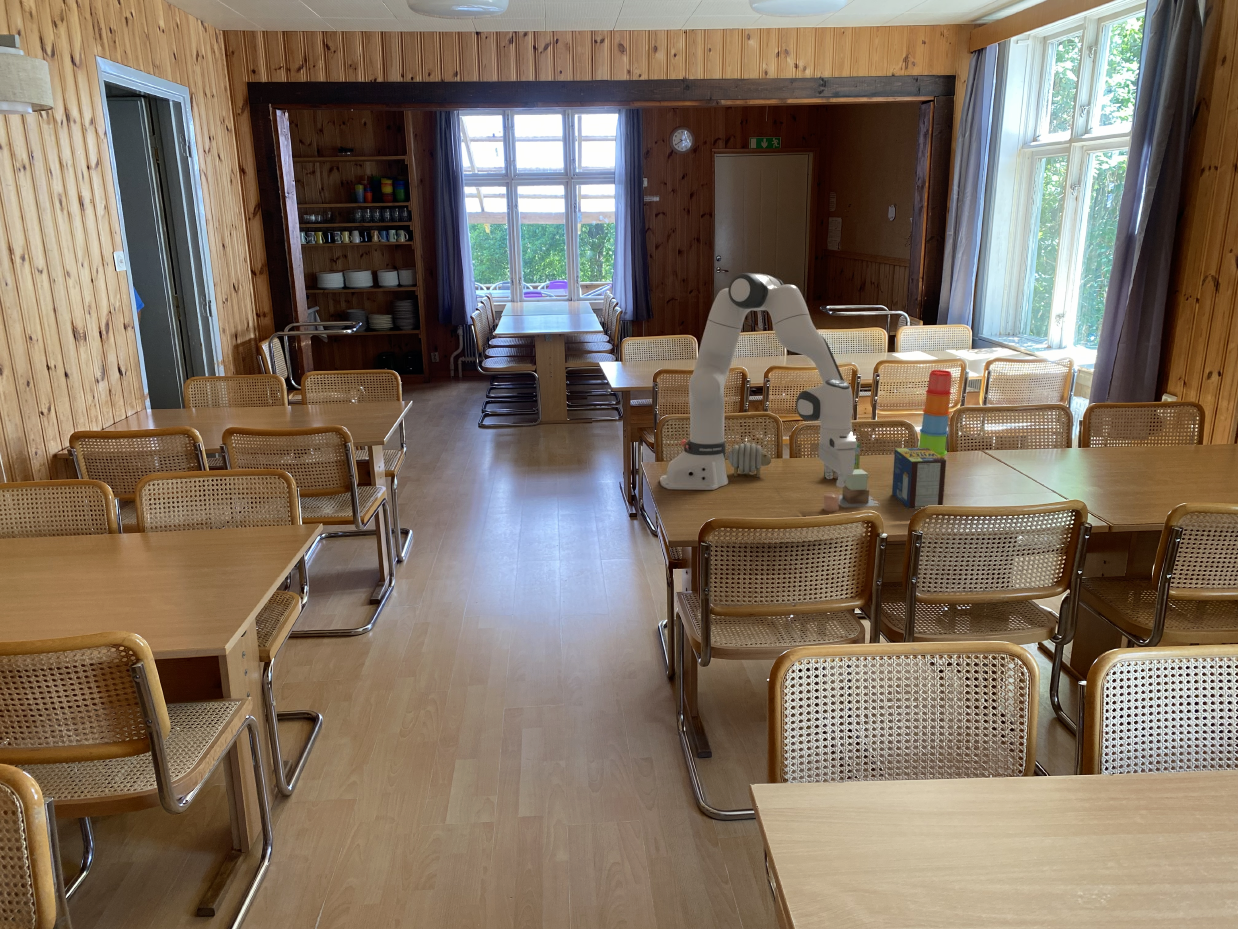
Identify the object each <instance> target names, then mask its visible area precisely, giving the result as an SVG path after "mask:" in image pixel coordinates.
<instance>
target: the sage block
mask: <svg viewBox="0 0 1238 929" xmlns="http://www.w3.org/2000/svg"><path fill="white" fill-rule="evenodd" d="M868 478H869V473H868V472H866V471H865V470H863V469H862V468H859V469H856V470H854V471H853V474H852V475H846V479H845V481H844V485H845V486H846V487H847V488H848V489H850V490H867V489H868Z"/></svg>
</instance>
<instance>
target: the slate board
mask: <svg viewBox="0 0 1238 929" xmlns="http://www.w3.org/2000/svg"><path fill="white" fill-rule="evenodd" d="M838 495H839V506H840V507H842V508H857V507H858V508H859V507H879V505H878V504H874V503H879V502H878V501H877V500H876V501H873V500H871V499H874V498H873V497H872V496H870V495H869V503H856V504H849V503H848V502H846V501H845V500H844V499H843V498H842V494H838Z"/></svg>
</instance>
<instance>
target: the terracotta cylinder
mask: <svg viewBox="0 0 1238 929" xmlns="http://www.w3.org/2000/svg"><path fill="white" fill-rule="evenodd" d="M839 495H840V494H838V493H833V492H830V493H824V494H823V508H822V509H823V510H824V511H826V512H838V511H839V509H840V504H839Z"/></svg>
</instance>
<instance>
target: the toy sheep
mask: <svg viewBox="0 0 1238 929" xmlns="http://www.w3.org/2000/svg"><path fill="white" fill-rule="evenodd" d="M724 460H728V464H729V465H730V466H731V467H733V476H734V477H738V474H739V473H740V474H743V473H744V474H745V475H749V474H750V473H751V474H755V473H756V477H757V478H761V468H762V466H763V467H765V466H766V467H767V466H769V465H771V463H772V458H771V456H770V455H769V453H767V452H766V451H765V450H762V446H761V445H756V444H755V443H751V444H750V442H746V443H745V444H744V443H740V444H739V445H737V444H735V445H733V448H731V449H730V451H729V452H728V455H727V454H725V457H724Z"/></svg>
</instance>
